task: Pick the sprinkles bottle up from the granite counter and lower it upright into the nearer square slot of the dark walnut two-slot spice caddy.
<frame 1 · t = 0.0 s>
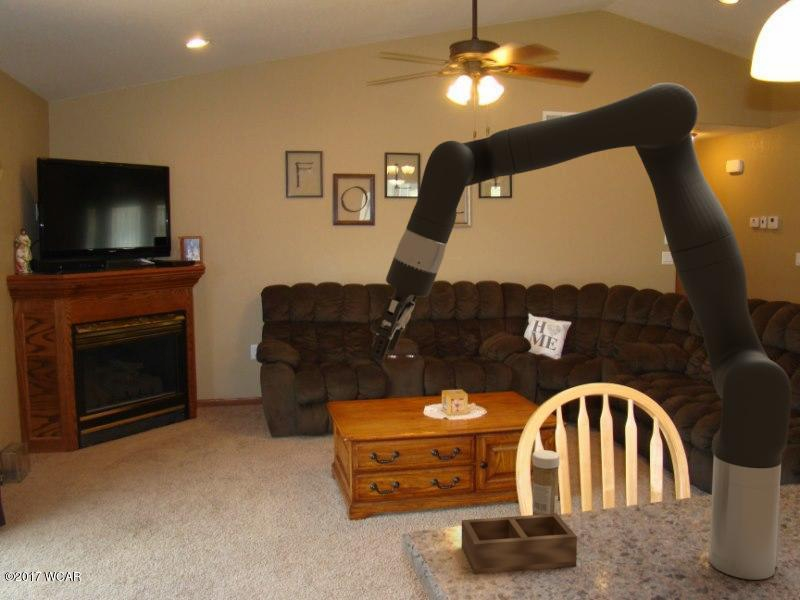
hand: (382, 353, 117), 31 cm above the countertop, tool tilted 20°, fingers open, 8 cm apart
sprinkles bottle: (544, 529, 123), on the countertop
spice caddy: (517, 556, 113), on the countertop
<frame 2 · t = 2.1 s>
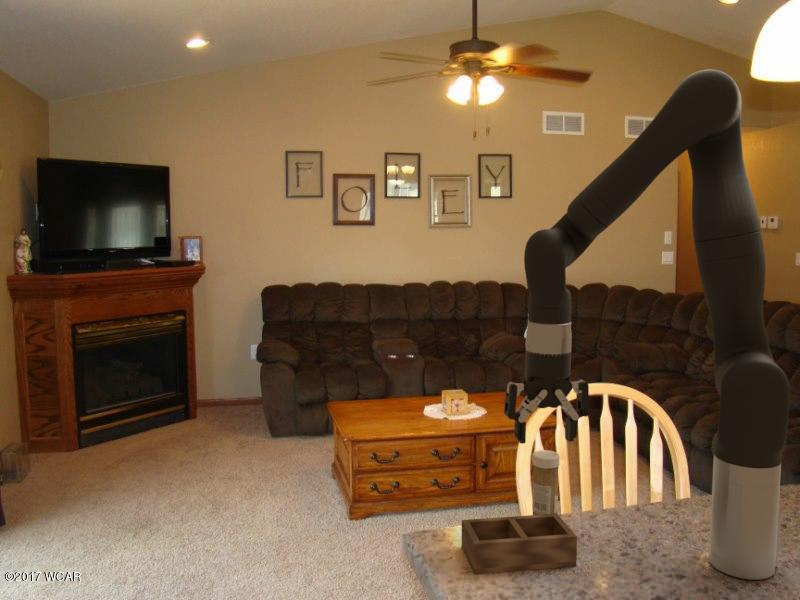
hand: (545, 441, 121), 16 cm above the countertop, tool pointing down, fingers open, 8 cm apart
nothing on the countertop moved.
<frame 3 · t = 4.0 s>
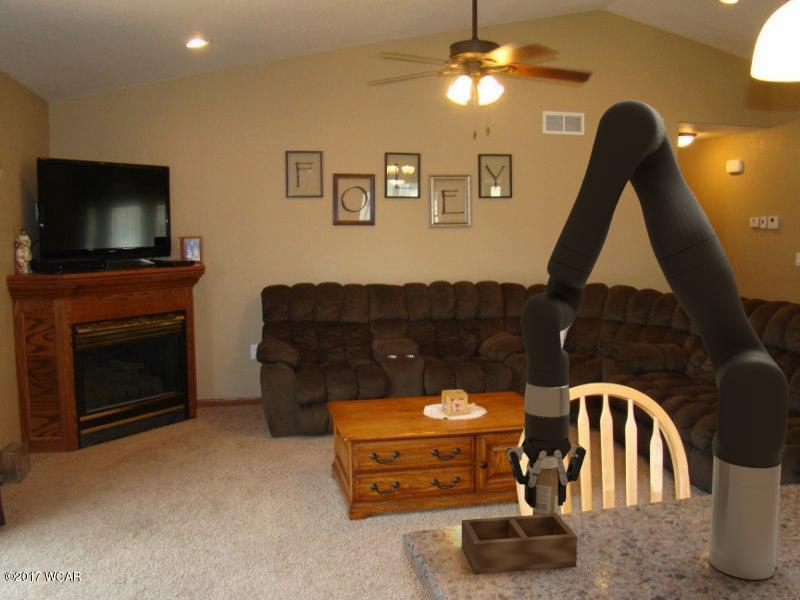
hand: (545, 504, 122), 4 cm above the countertop, tool pointing down, fingers closed on sprinkles bottle, 4 cm apart
sprinkles bottle: (544, 529, 123), on the countertop, touching gripper
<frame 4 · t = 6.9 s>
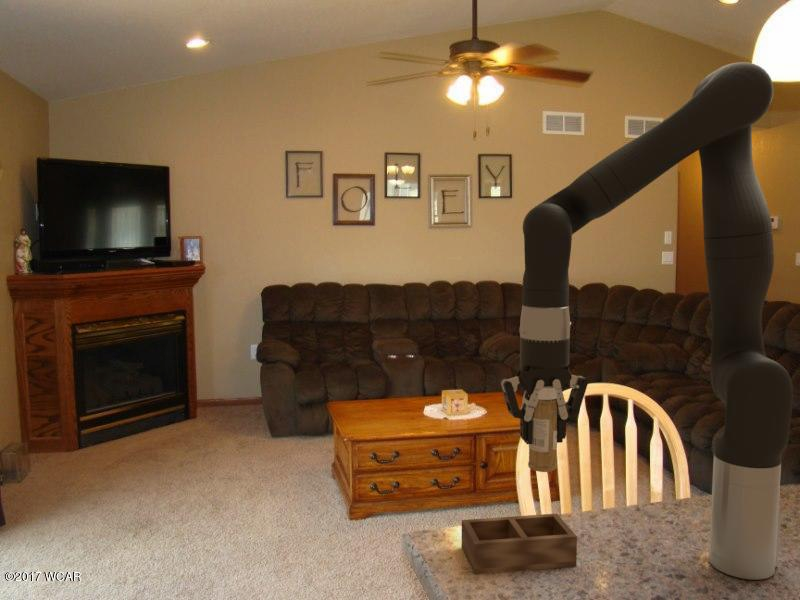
hand: (543, 441, 111), 19 cm above the countertop, tool pointing down, fingers closed on sprinkles bottle, 4 cm apart
sprinkles bottle: (542, 469, 111), point 14 cm above the countertop, touching gripper
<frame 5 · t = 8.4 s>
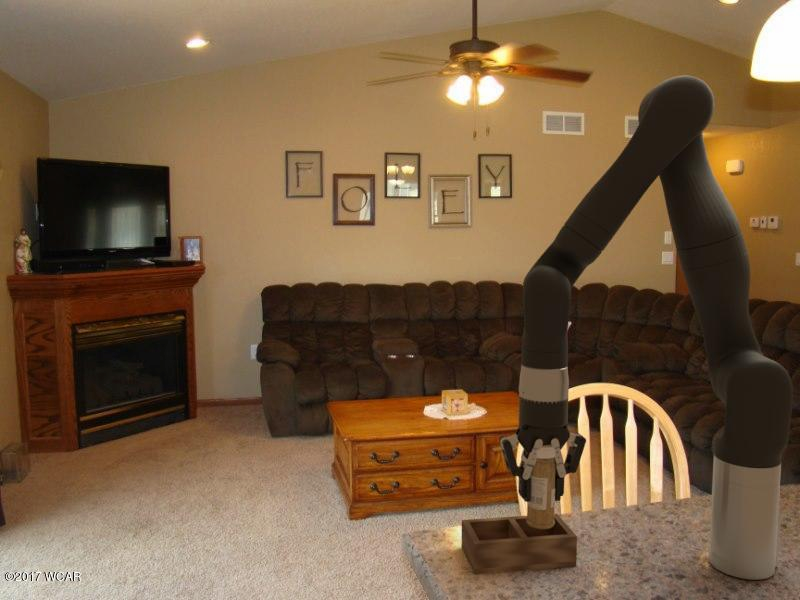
hand: (541, 498, 112), 9 cm above the countertop, tool pointing down, fingers closed on sprinkles bottle, 4 cm apart
sprinkles bottle: (540, 525, 112), point 5 cm above the countertop, touching gripper
when the fingers open (7 cm above the countertop, at t = 9.8 s): sprinkles bottle drops 1 cm, resting on spice caddy.
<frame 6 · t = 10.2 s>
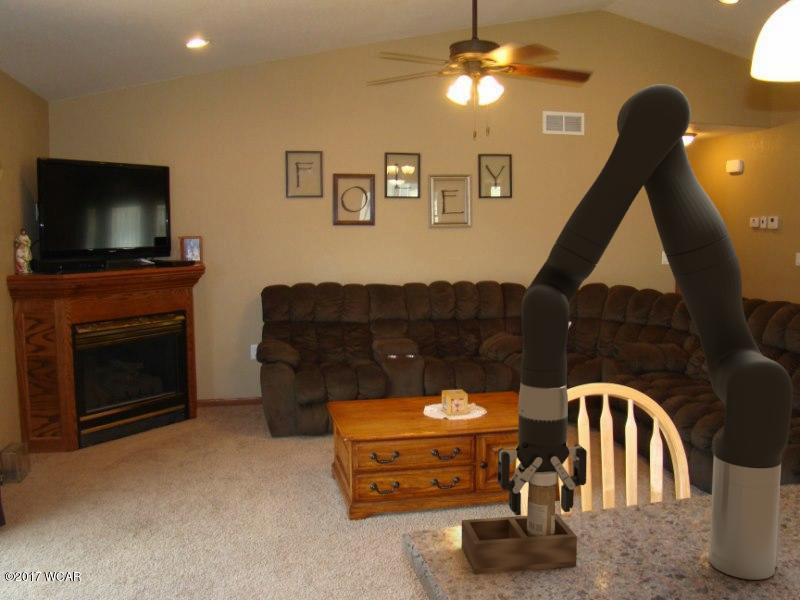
hand: (541, 511, 112), 7 cm above the countertop, tool pointing down, fingers open, 7 cm apart
sprinkles bottle: (539, 551, 113), point 1 cm above the countertop, touching spice caddy
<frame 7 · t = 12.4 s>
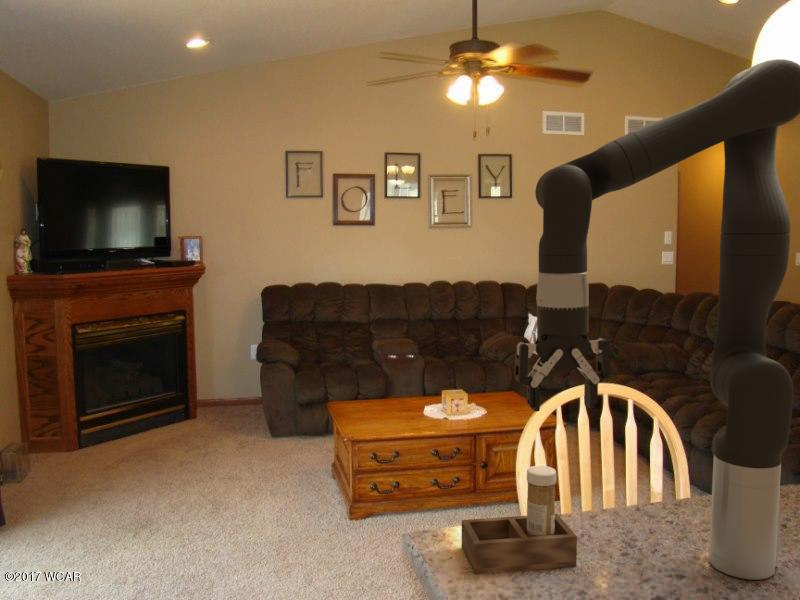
hand: (562, 408, 107), 25 cm above the countertop, tool pointing down, fingers open, 8 cm apart
nothing on the countertop moved.
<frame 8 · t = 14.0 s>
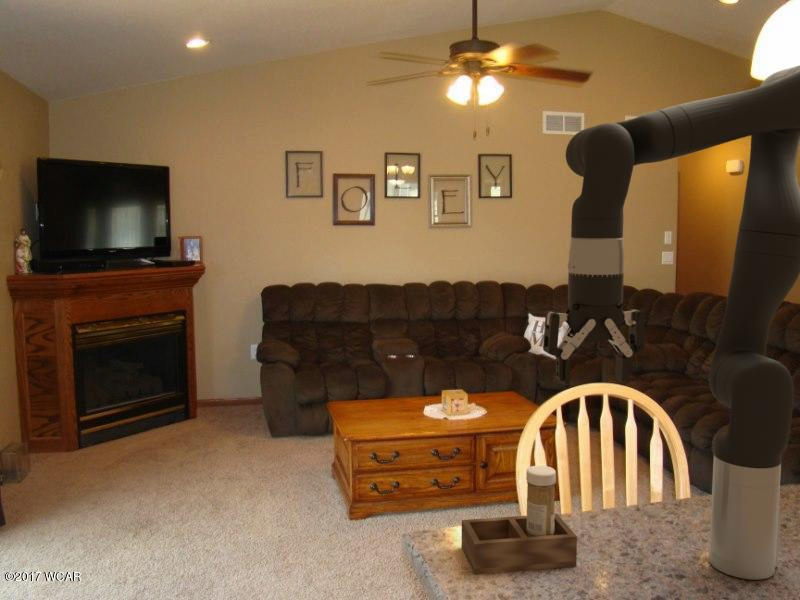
hand: (592, 382, 101), 30 cm above the countertop, tool pointing down, fingers open, 8 cm apart
nothing on the countertop moved.
at the end: sprinkles bottle 0.1 cm from the target spot on the spice caddy, point 0.6 cm above the spice caddy's base; sprinkles bottle tilted 0°; the gripper is holding nothing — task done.
